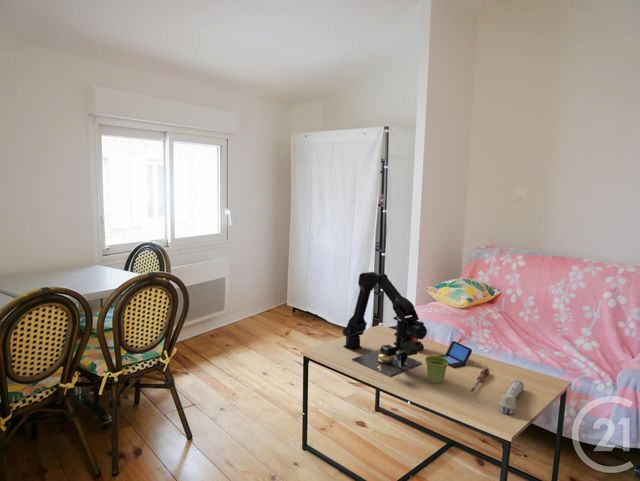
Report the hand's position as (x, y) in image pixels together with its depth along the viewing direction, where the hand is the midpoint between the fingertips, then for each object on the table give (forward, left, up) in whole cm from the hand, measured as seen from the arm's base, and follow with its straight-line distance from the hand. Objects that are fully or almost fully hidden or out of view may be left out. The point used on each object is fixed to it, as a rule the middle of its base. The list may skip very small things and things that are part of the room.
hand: (401, 367), depth 187 cm
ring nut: (-6, +3, -1) cm, 7 cm away
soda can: (-15, +27, -2) cm, 31 cm away
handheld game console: (+8, +28, -2) cm, 29 cm away
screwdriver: (+27, +16, -2) cm, 32 cm away
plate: (-11, +4, -2) cm, 12 cm away
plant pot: (+14, +5, -2) cm, 15 cm away
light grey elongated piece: (+42, +12, -2) cm, 44 cm away
